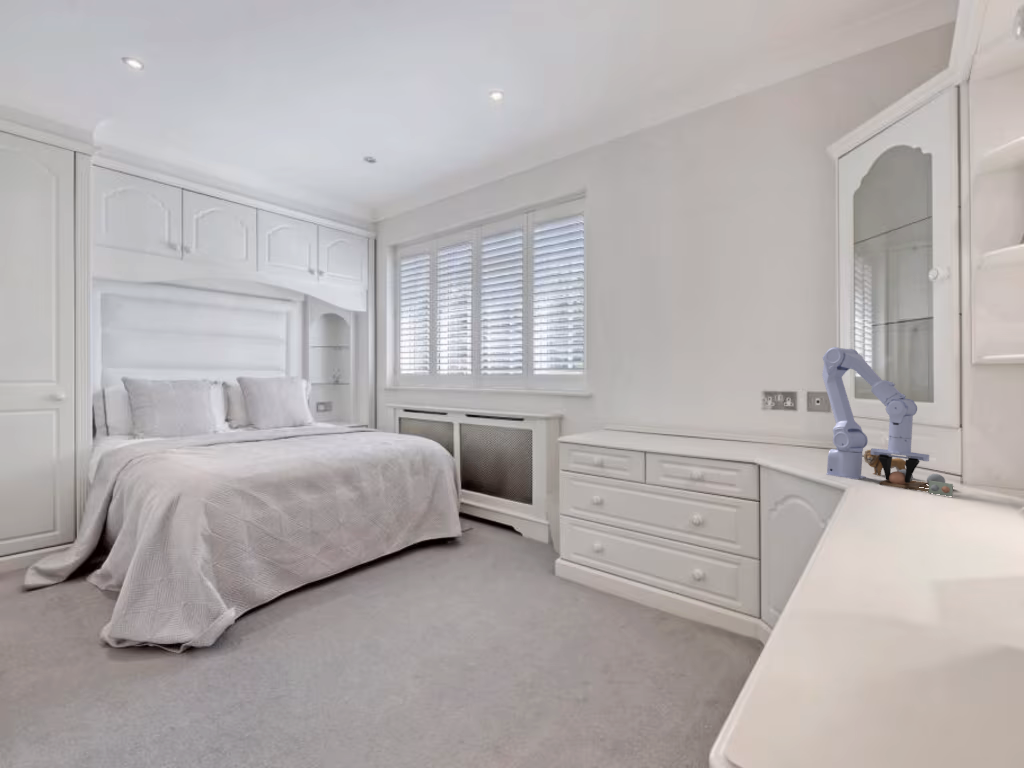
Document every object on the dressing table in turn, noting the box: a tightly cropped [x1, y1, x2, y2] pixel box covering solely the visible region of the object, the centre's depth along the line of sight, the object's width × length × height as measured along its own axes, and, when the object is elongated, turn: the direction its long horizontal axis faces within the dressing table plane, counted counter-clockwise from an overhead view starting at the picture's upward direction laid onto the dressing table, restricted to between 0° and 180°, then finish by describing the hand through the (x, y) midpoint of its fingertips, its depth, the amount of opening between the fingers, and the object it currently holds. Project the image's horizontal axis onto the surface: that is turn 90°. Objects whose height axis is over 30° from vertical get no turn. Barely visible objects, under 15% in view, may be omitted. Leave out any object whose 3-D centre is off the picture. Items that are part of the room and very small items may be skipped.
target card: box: [928, 481, 954, 497], centre depth 146 cm, size 5×1×4 cm, turn 39°
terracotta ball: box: [889, 470, 906, 485], centre depth 159 cm, size 4×4×4 cm
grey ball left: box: [899, 469, 914, 482], centre depth 164 cm, size 4×4×4 cm
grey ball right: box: [926, 473, 946, 484], centre depth 157 cm, size 4×4×4 cm
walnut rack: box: [879, 479, 929, 493], centre depth 158 cm, size 15×15×1 cm
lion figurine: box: [863, 449, 906, 477], centre depth 177 cm, size 15×5×9 cm, turn 72°
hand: (897, 480), depth 159 cm, fingers closed on terracotta ball, 4 cm apart
